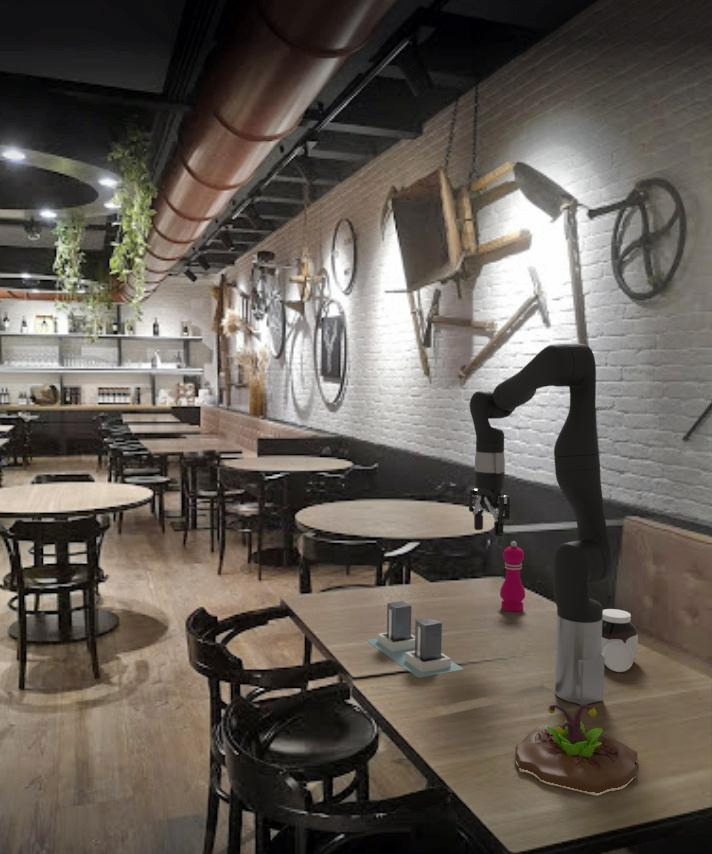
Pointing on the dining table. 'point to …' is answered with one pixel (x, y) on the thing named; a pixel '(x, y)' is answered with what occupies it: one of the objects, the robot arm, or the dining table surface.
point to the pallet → (412, 657)
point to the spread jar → (618, 640)
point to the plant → (576, 755)
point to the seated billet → (428, 639)
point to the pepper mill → (512, 579)
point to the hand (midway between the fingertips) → (488, 532)
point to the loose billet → (398, 621)
